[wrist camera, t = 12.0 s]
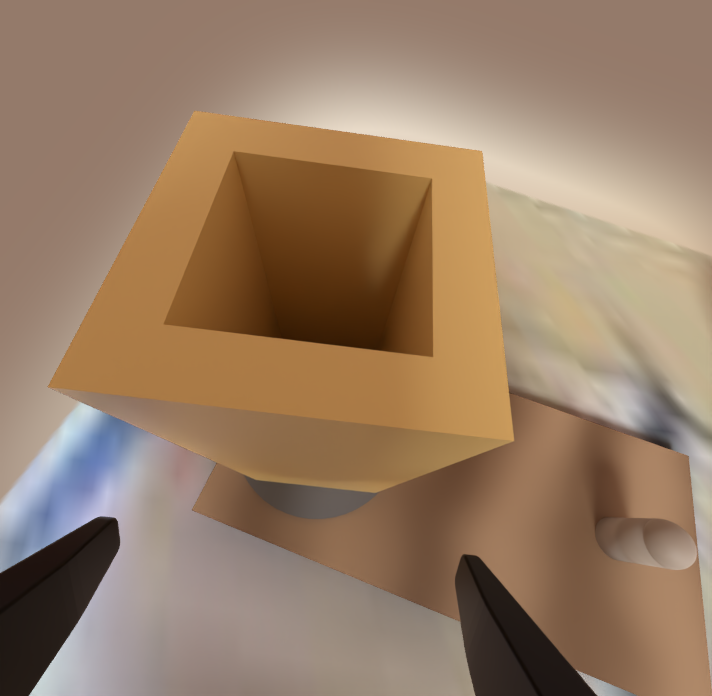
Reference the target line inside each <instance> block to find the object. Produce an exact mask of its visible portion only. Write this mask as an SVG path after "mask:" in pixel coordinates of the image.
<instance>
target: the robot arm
mask: <svg viewBox="0 0 712 696" xmlns="http://www.w3.org/2000/svg"><path fill="white" fill-rule="evenodd" d="M119 546H120V536H119V527H118V521H117V519H116V518H112V517H97V518H95V519H93V520H92V521H90V522H88V523H86V524H85V525H83V526H81V527H79V528H78V529H76V530H74V531H72V532H71V533H69V534H67V535H66V536H64V537H62V538H60V539H59V540H57V541H55V542H53V543H52V544H50V545H48V546H46V547H45V548H43V549H41V550H40V551H38V552H36V553H34V554H33V555H31V556H29V557H27V558H26V559H24V560H22V561H20V562H19V563H17V564H15V565H14V566H12V567H10V568H8V569H7V570H5V571H3V572H1V573H0V696H29V695H30V693H31V692H32V690H33V689H34V687H35V686H36V684H37V683H38V681H39V680H40V678H41V677H42V675H43V674H44V672H45V671H46V669H47V668H48V666H49V665H50V663H51V662H52V660H53V659H54V657H55V656H56V654H57V653H58V651H59V650H60V648H61V647H62V645H63V644H64V642H65V641H66V639H67V638H68V636H69V635H70V633H71V632H72V630H73V629H74V627H75V626H76V624H77V623H78V621H79V619H80V618H81V616H82V614H83V613H84V611H85V609H86V608H87V606H88V604H89V602H90V600H91V599H92V597H93V595H94V593H95V591H96V590H97V588H98V586H99V584H100V582H101V581H102V579H103V577H104V575H105V573H106V572H107V570H108V568H109V566H110V565H111V563H112V561H113V559H114V557H115V556H116V554H117V552H118V549H119ZM455 589H456V595H457V602H458V608H459V615H460V621H461V628H462V634H463V640H464V647H465V652H466V658H467V662H468V667H469V671H470V675H471V679H472V683H473V687H474V691H475V695H476V696H597V695H596V694H595V693H594V691H593V690H592V689H591V688H590V687H589V686H588V684H587V683H586V682H585V681H584V680H583V678H582V677H581V676H580V675H579V674H578V673H577V671H576V670H575V669H574V668H573V667H572V666H571V664H570V663H569V662H568V661H567V660H566V658H565V657H564V656H563V655H562V654H561V653H560V651H559V650H558V649H557V648H556V647H555V645H554V644H553V643H552V642H551V641H550V640H549V638H548V637H547V636H546V635H545V634H544V633H543V631H542V630H541V629H540V628H539V627H538V625H537V624H536V623H535V622H534V621H533V620H532V618H531V617H530V616H529V615H528V614H527V612H526V611H525V610H524V609H523V608H522V607H521V605H520V604H519V603H518V602H517V601H516V600H515V598H514V597H513V596H512V595H511V594H510V592H509V591H508V590H507V589H506V588H505V587H504V585H503V584H502V583H501V582H500V581H499V579H498V578H497V577H496V576H495V575H494V574H493V572H492V571H491V570H490V569H489V568H488V567H487V565H486V564H485V563H484V562H483V561H482V559H481V558H480V557H478V556H476V555H468V554H463V555H462V556H461V558H460V562H459V565H458V568H457V572H456V575H455Z"/></svg>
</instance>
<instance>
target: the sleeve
mask: <svg viewBox="0 0 712 696" xmlns="http://www.w3.org/2000/svg"><path fill="white" fill-rule="evenodd" d="M48 388H51V389H53V390H55V391H58V392H60V393H62V394H64V395H67V396H69V397H71V398H73V399H75V400H78V401H80V402H82V403H84V404H87V405H89V406H91V407H93V408H96V409H98V410H100V411H102V412H105V413H107V414H109V415H111V416H114V417H116V418H118V419H120V420H122V421H125V422H127V423H129V424H131V425H134V426H136V427H138V428H140V429H143V430H145V431H147V432H149V433H152V434H154V435H156V436H158V437H161V438H163V439H165V440H167V441H170V442H172V443H174V444H176V445H179V446H181V447H183V448H185V449H188V450H190V451H192V452H194V453H197V454H199V455H201V456H203V457H206V458H208V459H210V460H212V461H215V462H217V463H219V464H221V465H224V466H226V467H228V468H230V469H233V470H235V471H237V472H239V473H242V474H244V475H246V476H248V477H251V478H253V479H255V480H261V481H271V482H280V483H289V484H298V485H307V486H316V487H325V488H334V489H343V490H353V491H362V492H371V493H377V492H379V491H382V490H385V489H387V488H390V487H393V486H395V485H398V484H401V483H403V482H406V481H409V480H411V479H414V478H417V477H419V476H422V475H425V474H427V473H430V472H433V471H436V470H438V469H441V468H444V467H446V466H449V465H452V464H454V463H457V462H460V461H462V460H465V459H468V458H470V457H473V456H476V455H478V454H481V453H484V452H486V451H489V450H492V449H494V448H497V447H500V446H502V445H505V444H508V443H510V442H513V441H514V434H513V425H512V416H511V407H510V398H509V389H508V380H507V371H506V362H505V353H504V344H503V335H502V326H501V317H500V308H499V299H498V290H497V281H496V272H495V263H494V254H493V245H492V236H491V226H490V217H489V208H488V199H487V190H486V181H485V173H484V163H483V154H482V151H477V150H470V149H463V148H456V147H449V146H441V145H434V144H427V143H420V142H412V141H406V140H399V139H392V138H385V137H377V136H370V135H363V134H356V133H349V132H342V131H335V130H328V129H321V128H313V127H306V126H299V125H291V124H285V123H278V122H271V121H263V120H257V119H249V118H242V117H235V116H228V115H220V114H213V113H206V112H199V111H194V113H193V115H192V117H191V119H190V121H189V122H188V124H187V126H186V128H185V130H184V132H183V134H182V136H181V137H180V139H179V141H178V143H177V145H176V147H175V149H174V151H173V152H172V154H171V156H170V158H169V160H168V162H167V164H166V166H165V168H164V169H163V171H162V173H161V175H160V177H159V179H158V181H157V183H156V184H155V186H154V188H153V190H152V192H151V194H150V196H149V198H148V199H147V201H146V203H145V205H144V207H143V209H142V211H141V213H140V215H139V216H138V218H137V220H136V222H135V224H134V226H133V228H132V229H131V231H130V233H129V235H128V237H127V239H126V241H125V243H124V245H123V246H122V248H121V250H120V252H119V254H118V256H117V258H116V260H115V261H114V264H113V265H112V267H111V269H110V271H109V273H108V275H107V276H106V278H105V280H104V282H103V284H102V286H101V288H100V290H99V291H98V293H97V295H96V297H95V299H94V301H93V303H92V305H91V307H90V308H89V310H88V312H87V314H86V316H85V318H84V320H83V322H82V324H81V325H80V327H79V329H78V331H77V333H76V335H75V337H74V339H73V340H72V342H71V344H70V346H69V348H68V350H67V352H66V354H65V356H64V358H63V359H62V361H61V363H60V365H59V367H58V368H57V370H56V372H55V374H54V376H53V378H52V380H51V382H50V384H49V385H48Z"/></svg>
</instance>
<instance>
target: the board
mask: <svg viewBox="0 0 712 696" xmlns="http://www.w3.org/2000/svg"><path fill="white" fill-rule="evenodd" d="M509 398H510V407H511V416H512V425H513V434H514V441H513V442H510V443H508V444H505V445H502V446H500V447H497V448H494V449H492V450H489V451H486V452H484V453H481V454H478V455H476V456H473V457H470V458H468V459H465V460H462V461H460V462H457V463H454V464H452V465H449V466H446V467H444V468H441V469H438V470H436V471H433V472H430V473H427V474H425V475H422V476H419V477H417V478H414V479H411V480H409V481H406V482H403V483H401V484H398V485H395V486H393V487H390V488H387V489H385V490H382V491H379V492H377V493H371V492H362V491H353V490H343V489H334V488H325V487H316V486H307V485H298V484H289V483H280V482H271V481H261V480H255V479H253V478H251V477H248V476H246V475H244V474H242V473H239V472H237V471H235V470H233V469H230V468H228V467H226V466H224V465H221V464H219V463H216V465H215V467H214V469H213V471H212V473H211V475H210V477H209V478H208V480H207V482H206V484H205V486H204V488H203V490H202V492H201V494H200V496H199V498H198V499H197V501H196V503H195V505H194V507H193V509H192V510H193V511H195V512H198V513H200V514H202V515H205V516H207V517H210V518H212V519H214V520H217V521H219V522H222V523H224V524H226V525H229V526H231V527H234V528H236V529H238V530H241V531H243V532H246V533H248V534H251V535H253V536H255V537H258V538H260V539H263V540H265V541H267V542H270V543H272V544H275V545H277V546H279V547H282V548H284V549H287V550H289V551H291V552H294V553H296V554H299V555H301V556H303V557H306V558H308V559H311V560H313V561H316V562H318V563H320V564H323V565H325V566H328V567H330V568H332V569H335V570H337V571H340V572H342V573H344V574H347V575H349V576H352V577H354V578H356V579H359V580H361V581H364V582H366V583H368V584H371V585H373V586H376V587H378V588H380V589H383V590H385V591H388V592H390V593H393V594H395V595H397V596H400V597H402V598H405V599H407V600H409V601H412V602H414V603H417V604H419V605H421V606H424V607H426V608H429V609H431V610H433V611H436V612H438V613H441V614H443V615H445V616H448V617H450V618H453V619H455V620H458V621H460V615H459V608H458V602H457V595H456V589H455V575H456V572H457V568H458V565H459V562H460V558H461V556H462V555H463V554H468V555H476V556H478V557H480V558H481V559H482V561H483V562H484V563H485V564H486V565H487V567H488V568H489V569H490V570H491V571H492V572H493V574H494V575H495V576H496V577H497V578H498V579H499V581H500V582H501V583H502V584H503V585H504V587H505V588H506V589H507V590H508V591H509V592H510V594H511V595H512V596H513V597H514V598H515V600H516V601H517V602H518V603H519V604H520V605H521V607H522V608H523V609H524V610H525V611H526V612H527V614H528V615H529V616H530V617H531V618H532V620H533V621H534V622H535V623H536V624H537V625H538V627H539V628H540V629H541V630H542V631H543V633H544V634H545V635H546V636H547V637H548V638H549V640H550V641H551V642H552V643H553V644H554V645H555V647H556V648H557V649H558V650H559V651H560V653H561V654H562V655H563V656H564V657H565V658H566V660H567V661H568V662H569V663H570V664H571V666H572V667H573V668H574V669H575V670H578V671H580V672H583V673H585V674H587V675H590V676H592V677H595V678H597V679H599V680H602V681H604V682H607V683H609V684H612V685H614V686H616V687H619V688H621V689H624V690H626V691H628V692H631V693H633V694H636V695H638V696H712V690H711V680H710V670H709V660H708V649H707V639H706V629H705V619H704V609H703V599H702V588H701V578H700V568H699V558H698V548H697V538H696V528H695V517H694V507H693V497H692V487H691V477H690V467H689V456H687V455H684V454H681V453H678V452H675V451H673V450H670V449H667V448H664V447H661V446H658V445H656V444H653V443H650V442H647V441H644V440H642V439H639V438H636V437H633V436H630V435H627V434H625V433H622V432H619V431H616V430H613V429H610V428H608V427H605V426H602V425H599V424H596V423H594V422H591V421H588V420H585V419H582V418H579V417H577V416H574V415H571V414H568V413H565V412H563V411H560V410H557V409H554V408H551V407H548V406H546V405H543V404H540V403H537V402H534V401H531V400H529V399H526V398H523V397H520V396H517V395H515V394H512V393H509ZM460 622H461V621H460Z"/></svg>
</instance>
